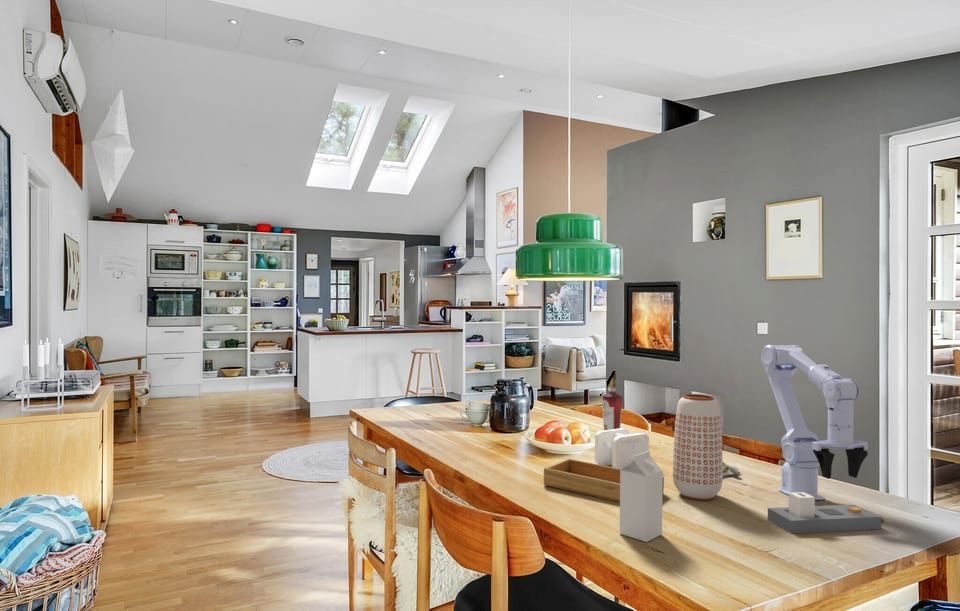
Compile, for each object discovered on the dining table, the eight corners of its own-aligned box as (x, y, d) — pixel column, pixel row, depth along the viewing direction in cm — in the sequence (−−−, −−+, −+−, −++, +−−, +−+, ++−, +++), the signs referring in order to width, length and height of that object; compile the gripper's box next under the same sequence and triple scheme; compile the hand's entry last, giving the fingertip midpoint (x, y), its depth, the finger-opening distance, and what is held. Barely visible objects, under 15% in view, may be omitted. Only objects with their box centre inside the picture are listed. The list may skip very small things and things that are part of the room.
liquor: (597, 445, 231) (598, 372, 231) (612, 443, 235) (613, 371, 235) (610, 449, 225) (611, 374, 225) (625, 447, 228) (626, 373, 228)
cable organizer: (626, 460, 209) (627, 427, 209) (650, 468, 200) (650, 433, 200) (594, 466, 202) (594, 431, 202) (616, 474, 193) (617, 437, 192)
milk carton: (619, 534, 142) (620, 453, 142) (635, 526, 147) (636, 448, 147) (646, 543, 137) (647, 459, 137) (662, 534, 142) (663, 453, 142)
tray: (663, 495, 173) (664, 475, 173) (643, 509, 161) (643, 488, 161) (568, 476, 191) (568, 458, 191) (543, 487, 179) (543, 468, 179)
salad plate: (756, 476, 193) (757, 462, 193) (715, 483, 185) (716, 468, 185) (709, 462, 210) (709, 449, 210) (670, 467, 202) (670, 454, 202)
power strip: (791, 533, 144) (791, 518, 144) (767, 519, 153) (767, 505, 153) (897, 528, 148) (898, 513, 148) (868, 515, 157) (869, 501, 157)
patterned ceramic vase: (699, 486, 180) (700, 391, 180) (733, 500, 168) (734, 398, 168) (662, 490, 176) (663, 393, 175) (694, 505, 163) (695, 400, 163)
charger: (788, 520, 151) (789, 492, 151) (803, 520, 151) (803, 491, 151) (799, 526, 147) (799, 497, 147) (814, 526, 147) (814, 497, 147)
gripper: (826, 428, 153) (825, 482, 153) (877, 427, 155) (876, 480, 155) (807, 423, 160) (806, 474, 160) (856, 422, 162) (855, 473, 162)
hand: (839, 477), depth 158 cm, fingers open, 7 cm apart
